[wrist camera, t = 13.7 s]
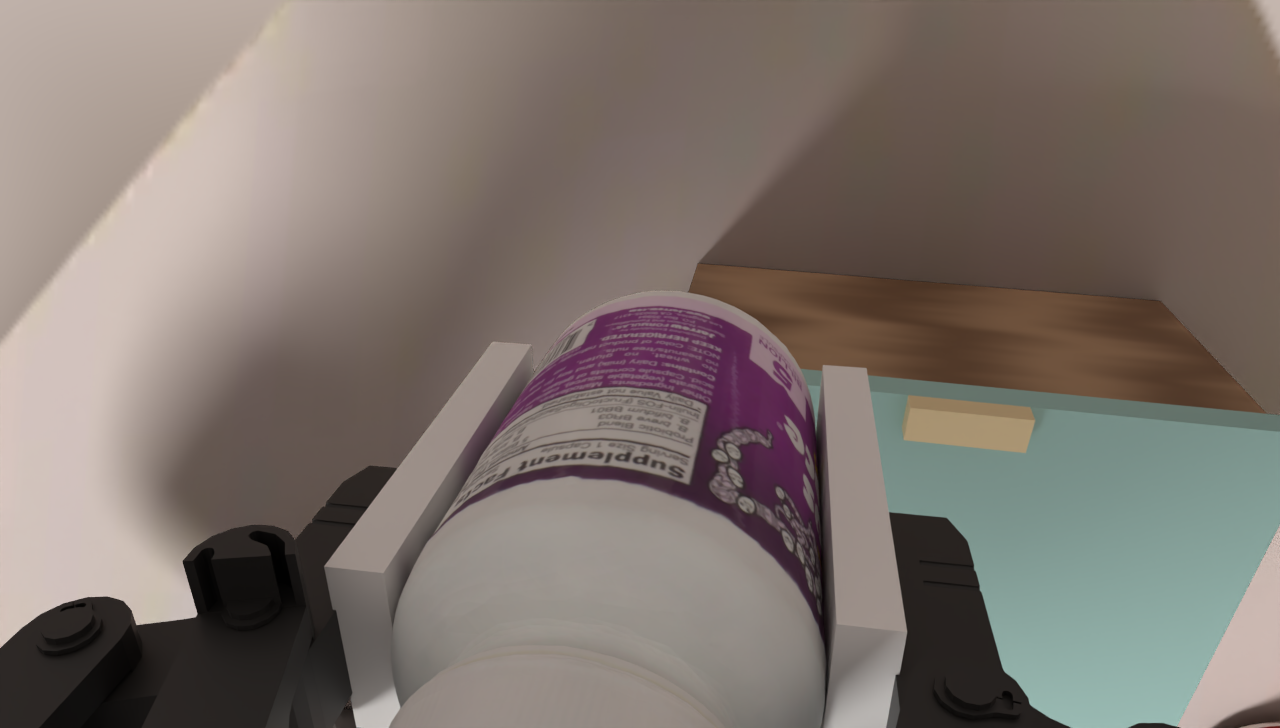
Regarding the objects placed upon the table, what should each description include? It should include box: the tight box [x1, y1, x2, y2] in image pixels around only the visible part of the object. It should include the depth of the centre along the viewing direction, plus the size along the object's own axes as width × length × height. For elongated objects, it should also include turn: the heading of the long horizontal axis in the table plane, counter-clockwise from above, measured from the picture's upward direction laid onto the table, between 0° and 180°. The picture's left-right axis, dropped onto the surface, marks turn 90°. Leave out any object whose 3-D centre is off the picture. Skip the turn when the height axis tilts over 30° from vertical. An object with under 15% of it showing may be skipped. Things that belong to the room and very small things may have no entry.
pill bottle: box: [389, 290, 827, 728], centre depth 12 cm, size 5×5×10 cm
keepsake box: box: [688, 263, 1267, 414], centre depth 30 cm, size 16×12×8 cm
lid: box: [801, 369, 1280, 728], centre depth 26 cm, size 17×13×1 cm
